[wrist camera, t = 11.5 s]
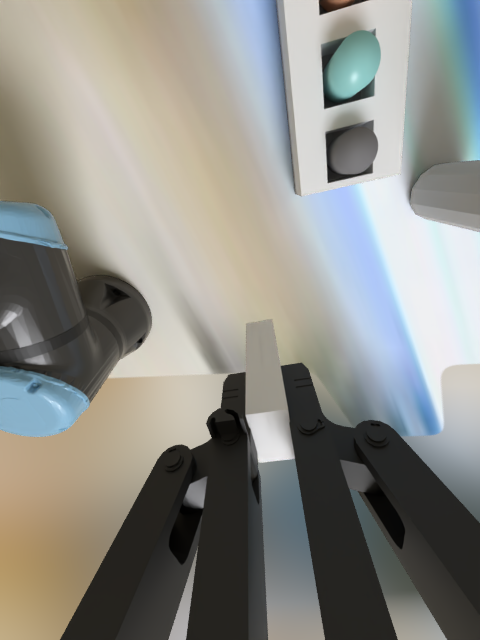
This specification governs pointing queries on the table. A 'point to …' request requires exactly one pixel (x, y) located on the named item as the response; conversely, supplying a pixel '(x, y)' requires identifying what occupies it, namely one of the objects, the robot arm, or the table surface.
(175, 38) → the table surface
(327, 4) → the button terracotta
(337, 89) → the button teal
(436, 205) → the water bottle
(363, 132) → the button charcoal
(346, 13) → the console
